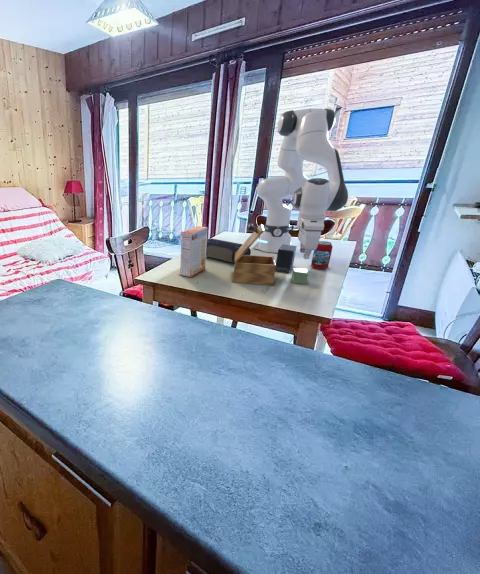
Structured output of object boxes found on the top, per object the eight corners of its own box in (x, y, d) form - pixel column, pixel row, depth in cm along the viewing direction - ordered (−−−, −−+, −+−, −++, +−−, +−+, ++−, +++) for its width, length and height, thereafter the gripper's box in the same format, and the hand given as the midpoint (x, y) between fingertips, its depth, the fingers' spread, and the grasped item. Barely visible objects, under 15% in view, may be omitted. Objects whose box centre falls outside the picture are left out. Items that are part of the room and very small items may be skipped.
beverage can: (309, 268, 152) (314, 243, 148) (312, 264, 157) (317, 240, 152) (326, 271, 148) (331, 245, 143) (329, 266, 152) (334, 242, 148)
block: (291, 278, 142) (293, 268, 140) (304, 279, 140) (306, 268, 138) (292, 282, 137) (294, 271, 136) (306, 284, 136) (308, 272, 134)
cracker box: (194, 267, 162) (196, 225, 154) (205, 269, 158) (208, 227, 150) (178, 275, 153) (180, 231, 146) (190, 277, 149) (192, 233, 142)
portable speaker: (197, 257, 177) (199, 239, 174) (209, 253, 183) (210, 235, 179) (240, 267, 158) (242, 247, 155) (251, 263, 164) (254, 243, 160)
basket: (270, 275, 147) (273, 256, 144) (273, 285, 136) (276, 265, 133) (233, 272, 153) (235, 254, 149) (232, 281, 142) (235, 262, 139)
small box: (289, 273, 148) (293, 250, 144) (273, 270, 152) (277, 249, 148) (293, 266, 156) (297, 245, 152) (278, 264, 159) (281, 243, 155)
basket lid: (262, 224, 141) (252, 217, 141) (264, 230, 130) (253, 223, 130) (236, 254, 149) (227, 247, 150) (235, 262, 139) (225, 255, 139)
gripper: (297, 217, 139) (291, 248, 144) (305, 226, 121) (299, 262, 127) (314, 217, 137) (308, 249, 142) (325, 227, 119) (318, 263, 124)
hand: (304, 255), depth 134 cm, fingers open, 8 cm apart
